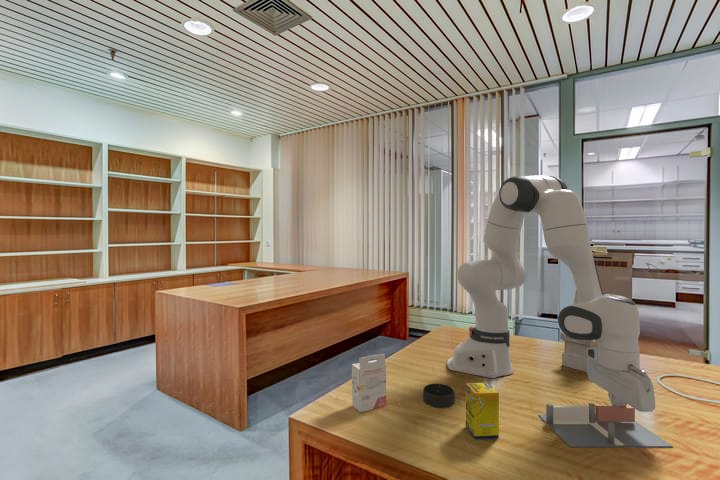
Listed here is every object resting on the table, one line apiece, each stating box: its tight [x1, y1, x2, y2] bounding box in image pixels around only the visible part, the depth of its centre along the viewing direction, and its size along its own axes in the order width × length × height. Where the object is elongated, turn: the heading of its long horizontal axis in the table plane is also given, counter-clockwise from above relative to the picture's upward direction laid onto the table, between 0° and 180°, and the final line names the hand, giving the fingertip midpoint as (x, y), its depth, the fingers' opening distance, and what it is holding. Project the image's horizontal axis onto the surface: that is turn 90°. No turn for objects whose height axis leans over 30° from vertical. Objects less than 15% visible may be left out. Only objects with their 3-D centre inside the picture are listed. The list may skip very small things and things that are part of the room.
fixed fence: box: [545, 402, 614, 444], centre depth 88 cm, size 12×10×5 cm
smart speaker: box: [422, 383, 456, 409], centre depth 105 cm, size 9×9×4 cm
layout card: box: [538, 414, 674, 448], centre depth 89 cm, size 23×14×1 cm, turn 90°
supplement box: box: [465, 382, 500, 441], centre depth 88 cm, size 6×6×11 cm
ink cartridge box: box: [351, 353, 387, 413], centre depth 102 cm, size 9×5×15 cm, turn 118°
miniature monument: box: [559, 289, 598, 373], centre depth 133 cm, size 10×10×30 cm
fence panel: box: [595, 405, 636, 422], centre depth 92 cm, size 9×1×4 cm, turn 88°
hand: (618, 412), depth 94 cm, fingers closed
